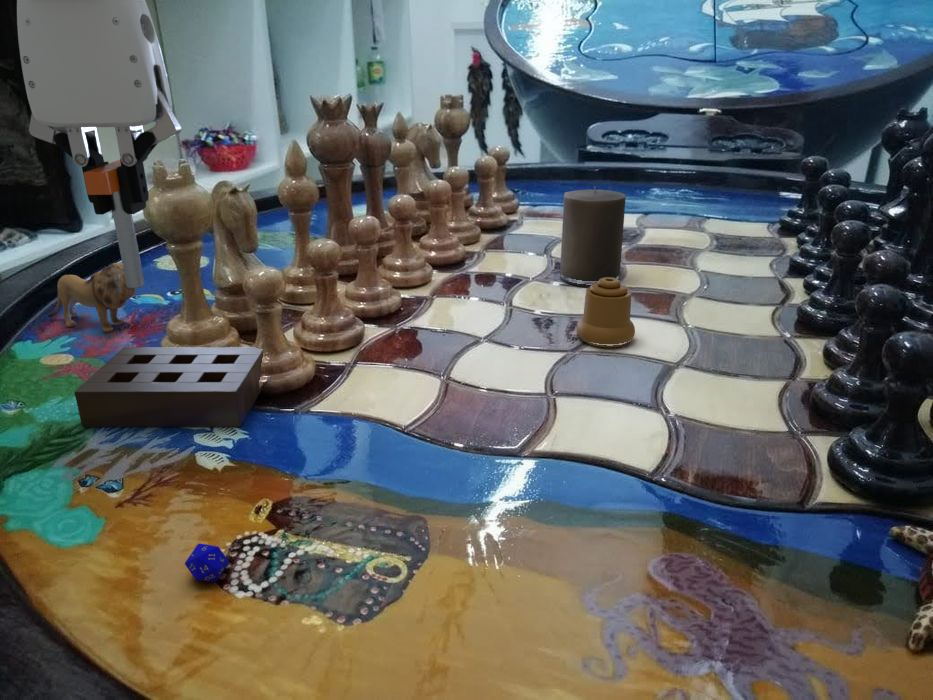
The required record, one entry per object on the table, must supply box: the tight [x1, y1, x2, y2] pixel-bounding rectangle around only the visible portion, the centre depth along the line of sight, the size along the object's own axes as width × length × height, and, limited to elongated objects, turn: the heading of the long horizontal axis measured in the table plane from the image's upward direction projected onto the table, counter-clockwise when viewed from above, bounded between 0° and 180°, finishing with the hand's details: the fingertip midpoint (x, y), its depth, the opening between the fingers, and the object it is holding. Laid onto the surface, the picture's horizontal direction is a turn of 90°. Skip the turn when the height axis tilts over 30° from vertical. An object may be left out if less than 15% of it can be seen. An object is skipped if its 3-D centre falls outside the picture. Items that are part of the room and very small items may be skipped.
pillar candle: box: [559, 185, 627, 288], centre depth 117 cm, size 10×10×15 cm
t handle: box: [83, 159, 146, 289], centre depth 64 cm, size 2×7×11 cm, turn 1°
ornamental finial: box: [576, 277, 636, 349], centre depth 94 cm, size 8×8×8 cm
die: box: [184, 543, 230, 583], centre depth 53 cm, size 3×3×3 cm
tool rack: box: [74, 346, 266, 428], centre depth 78 cm, size 11×16×4 cm
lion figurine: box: [46, 261, 137, 333], centre depth 99 cm, size 15×5×9 cm, turn 79°
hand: (121, 209), depth 64 cm, fingers closed on t handle, 1 cm apart
